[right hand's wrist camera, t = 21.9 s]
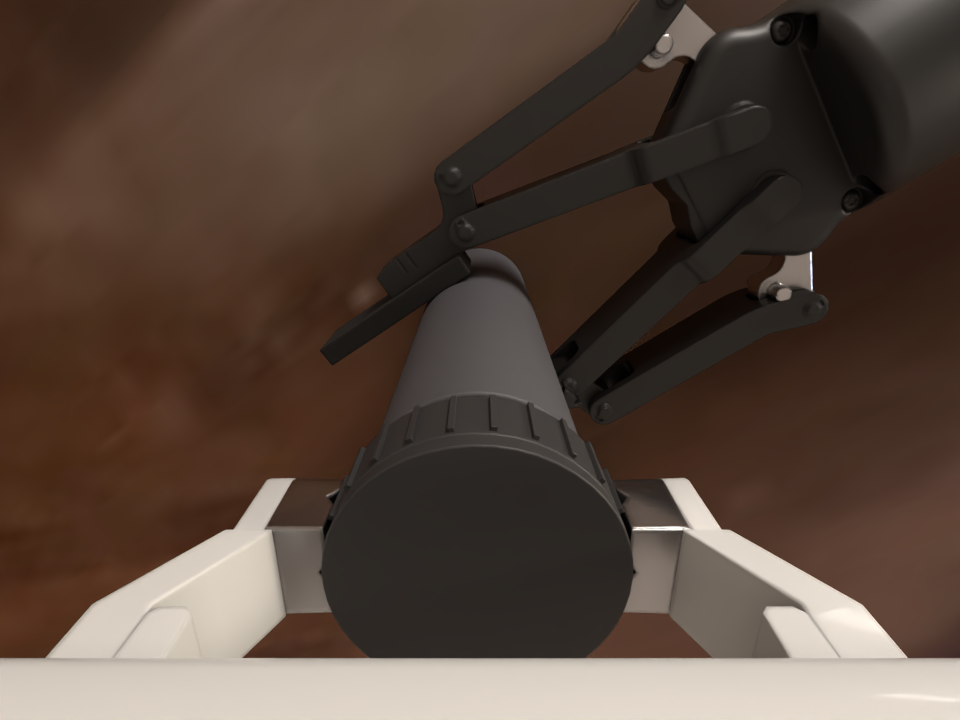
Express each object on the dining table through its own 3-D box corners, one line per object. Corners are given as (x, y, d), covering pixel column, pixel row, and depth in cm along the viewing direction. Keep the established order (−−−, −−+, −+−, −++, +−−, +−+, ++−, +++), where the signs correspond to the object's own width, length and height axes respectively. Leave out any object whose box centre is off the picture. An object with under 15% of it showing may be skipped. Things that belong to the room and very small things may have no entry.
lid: (483, 655, 12) (483, 736, 10) (288, 519, 10) (252, 587, 9) (668, 510, 10) (704, 577, 9) (471, 334, 9) (469, 372, 7)
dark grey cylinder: (462, 230, 26) (423, 382, 8) (542, 277, 27) (661, 506, 9) (418, 309, 28) (305, 582, 10) (495, 352, 28) (519, 675, 11)
